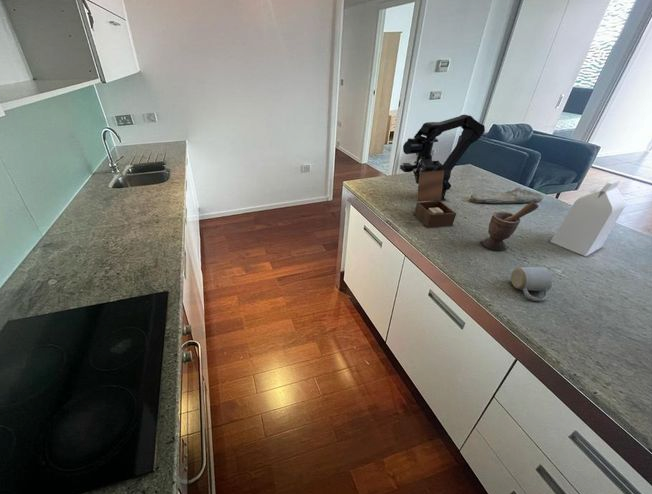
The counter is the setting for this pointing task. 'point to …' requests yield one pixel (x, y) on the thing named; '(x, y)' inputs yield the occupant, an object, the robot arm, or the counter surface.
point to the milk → (590, 220)
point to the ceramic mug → (532, 280)
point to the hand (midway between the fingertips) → (417, 183)
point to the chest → (434, 219)
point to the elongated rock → (507, 197)
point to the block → (435, 211)
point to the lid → (430, 186)
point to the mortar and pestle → (505, 226)
